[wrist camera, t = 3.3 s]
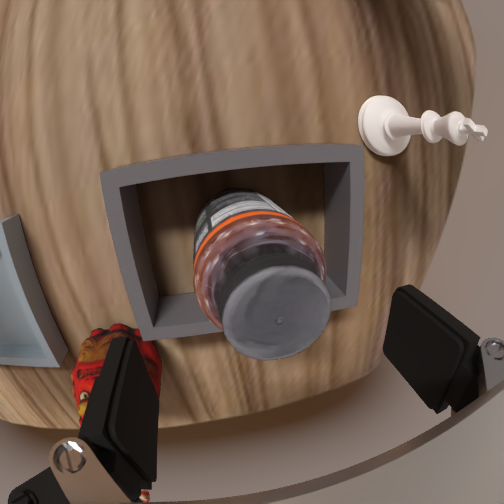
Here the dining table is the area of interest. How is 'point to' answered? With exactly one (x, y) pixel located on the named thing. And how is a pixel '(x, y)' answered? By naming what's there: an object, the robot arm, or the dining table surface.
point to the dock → (126, 177)
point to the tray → (24, 306)
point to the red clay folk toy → (94, 358)
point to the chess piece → (410, 126)
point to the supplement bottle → (259, 275)
